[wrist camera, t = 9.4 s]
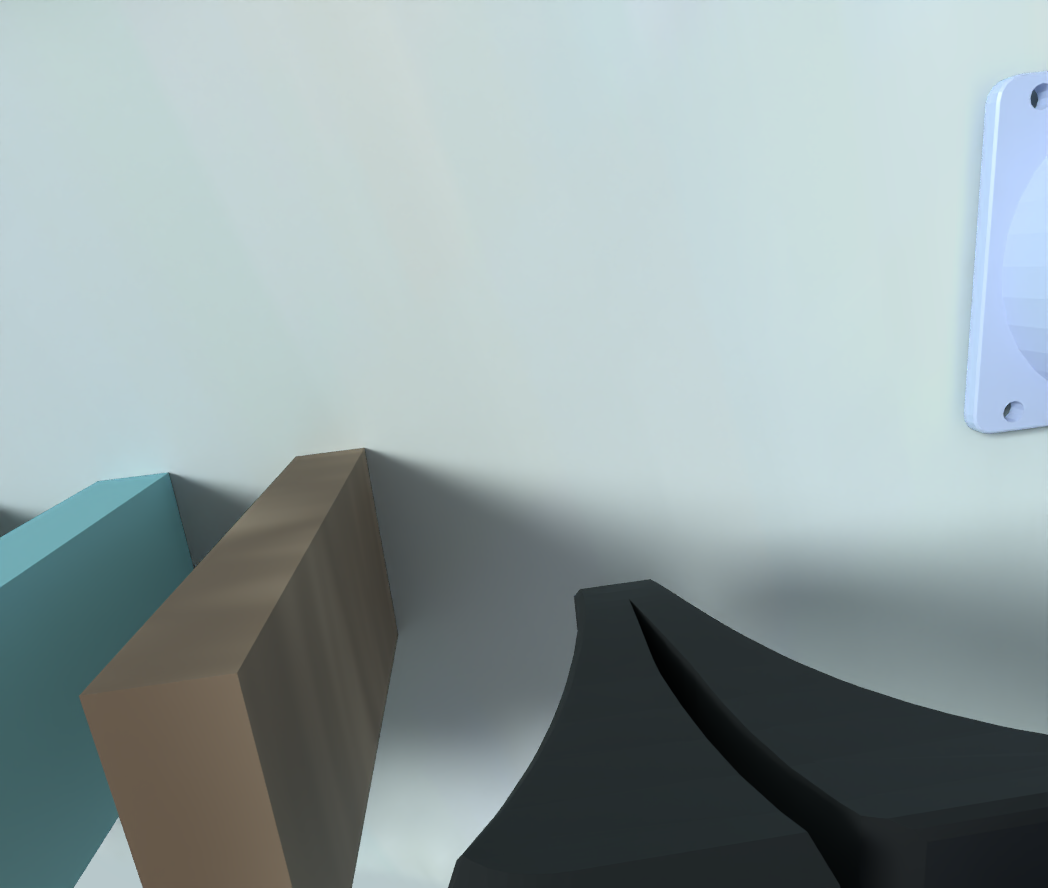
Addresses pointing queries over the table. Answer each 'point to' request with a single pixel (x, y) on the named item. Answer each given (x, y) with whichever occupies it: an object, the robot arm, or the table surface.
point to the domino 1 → (72, 662)
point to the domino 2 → (257, 695)
